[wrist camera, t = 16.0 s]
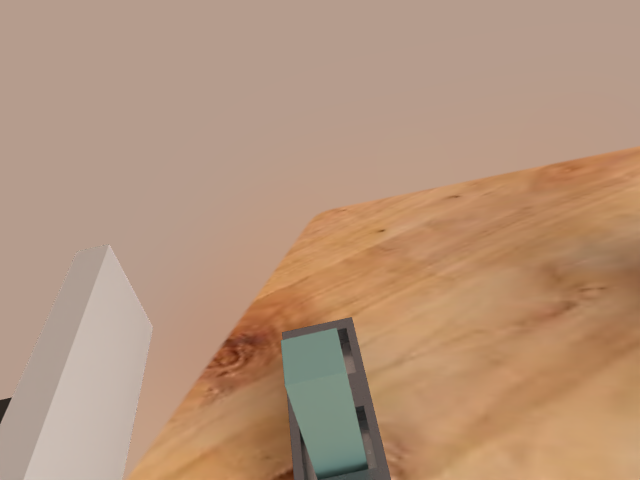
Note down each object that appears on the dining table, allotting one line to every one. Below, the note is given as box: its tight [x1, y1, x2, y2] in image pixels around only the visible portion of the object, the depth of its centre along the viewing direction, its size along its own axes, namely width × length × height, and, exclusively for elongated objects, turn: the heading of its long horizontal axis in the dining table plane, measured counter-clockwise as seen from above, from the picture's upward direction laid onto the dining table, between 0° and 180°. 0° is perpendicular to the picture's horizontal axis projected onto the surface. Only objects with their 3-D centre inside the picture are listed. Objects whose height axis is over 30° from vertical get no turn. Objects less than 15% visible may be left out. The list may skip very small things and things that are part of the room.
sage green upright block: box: [281, 328, 369, 480], centre depth 38 cm, size 4×4×12 cm
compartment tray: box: [282, 317, 391, 480], centre depth 45 cm, size 17×7×3 cm, turn 7°
